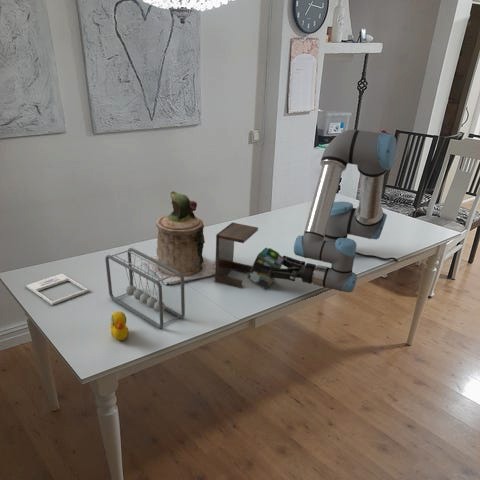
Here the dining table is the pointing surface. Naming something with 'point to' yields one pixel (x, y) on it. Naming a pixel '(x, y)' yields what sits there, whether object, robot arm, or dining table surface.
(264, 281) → the chalk box
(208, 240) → the dining table surface
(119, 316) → the duckling
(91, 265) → the dining table surface
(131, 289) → the newton's cradle
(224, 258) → the walnut rack
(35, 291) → the photo frame
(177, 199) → the cookie jar
